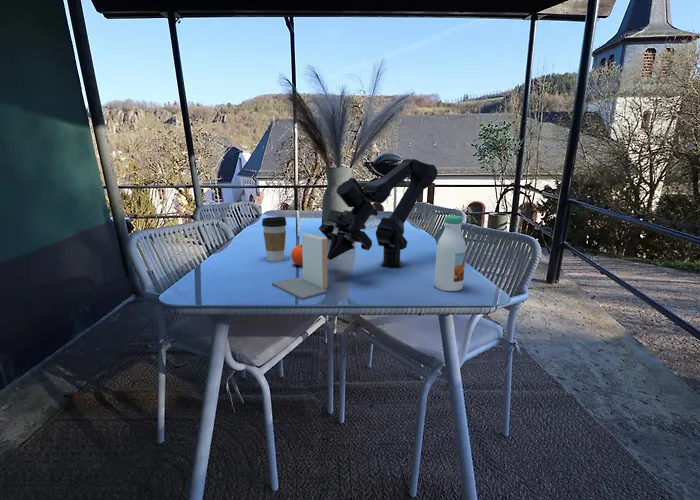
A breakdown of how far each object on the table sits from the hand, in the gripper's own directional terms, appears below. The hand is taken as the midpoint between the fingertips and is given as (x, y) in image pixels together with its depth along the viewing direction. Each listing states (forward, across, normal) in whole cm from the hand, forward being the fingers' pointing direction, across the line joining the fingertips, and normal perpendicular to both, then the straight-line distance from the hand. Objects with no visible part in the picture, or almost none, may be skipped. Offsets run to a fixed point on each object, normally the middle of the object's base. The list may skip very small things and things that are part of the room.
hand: (328, 258), depth 104 cm
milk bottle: (-11, +26, +20) cm, 35 cm away
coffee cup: (+5, -31, +5) cm, 32 cm away
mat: (+12, 0, -3) cm, 12 cm away
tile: (+8, 0, +1) cm, 8 cm away
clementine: (+2, -20, +7) cm, 21 cm away
